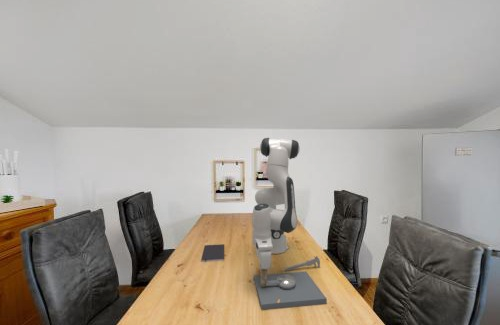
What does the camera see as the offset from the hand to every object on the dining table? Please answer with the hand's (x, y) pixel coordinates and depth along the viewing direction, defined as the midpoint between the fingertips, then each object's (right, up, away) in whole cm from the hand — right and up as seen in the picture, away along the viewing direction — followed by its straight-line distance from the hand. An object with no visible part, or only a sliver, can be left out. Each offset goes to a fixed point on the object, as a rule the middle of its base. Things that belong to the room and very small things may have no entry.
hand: (262, 269), depth 102 cm
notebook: (-28, -6, +31) cm, 43 cm away
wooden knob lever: (+6, -4, -6) cm, 10 cm away
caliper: (+21, -6, +11) cm, 25 cm away
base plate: (+10, -6, -7) cm, 14 cm away
